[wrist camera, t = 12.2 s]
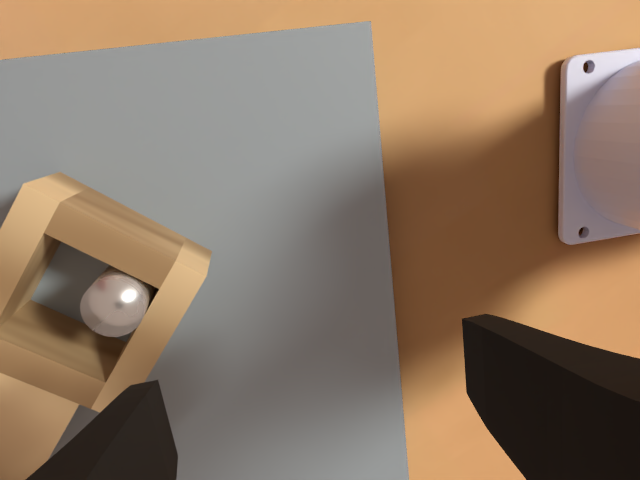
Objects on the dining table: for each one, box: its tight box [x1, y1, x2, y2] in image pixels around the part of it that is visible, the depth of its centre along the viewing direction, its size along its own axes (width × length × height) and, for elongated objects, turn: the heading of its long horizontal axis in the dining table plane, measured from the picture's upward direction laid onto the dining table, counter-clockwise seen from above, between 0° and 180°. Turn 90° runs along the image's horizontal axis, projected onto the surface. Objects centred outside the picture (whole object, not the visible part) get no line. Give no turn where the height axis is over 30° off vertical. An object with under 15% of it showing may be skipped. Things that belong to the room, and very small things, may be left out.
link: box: [0, 172, 212, 480], centre depth 17 cm, size 15×6×3 cm, turn 148°
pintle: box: [80, 265, 157, 337], centre depth 17 cm, size 2×2×4 cm
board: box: [0, 21, 409, 480], centre depth 19 cm, size 22×21×1 cm
